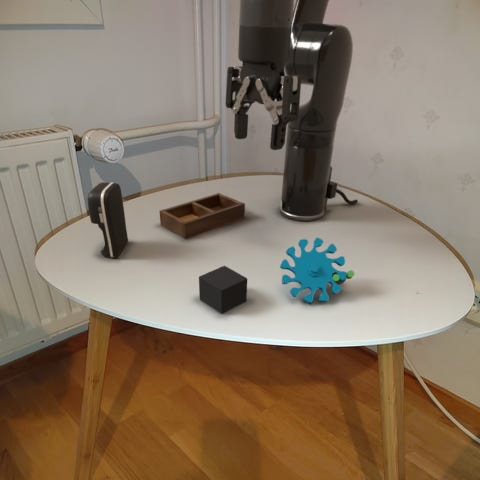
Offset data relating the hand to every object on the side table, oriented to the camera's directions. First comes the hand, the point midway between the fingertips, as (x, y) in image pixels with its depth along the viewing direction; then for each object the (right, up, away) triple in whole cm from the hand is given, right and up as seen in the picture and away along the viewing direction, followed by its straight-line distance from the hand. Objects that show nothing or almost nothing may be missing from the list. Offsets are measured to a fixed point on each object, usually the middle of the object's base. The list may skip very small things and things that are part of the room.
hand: (257, 143), depth 69 cm
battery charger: (-26, -17, +5) cm, 31 cm away
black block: (-6, -26, -7) cm, 28 cm away
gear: (+8, -25, -4) cm, 27 cm away
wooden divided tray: (-10, -9, +16) cm, 21 cm away
